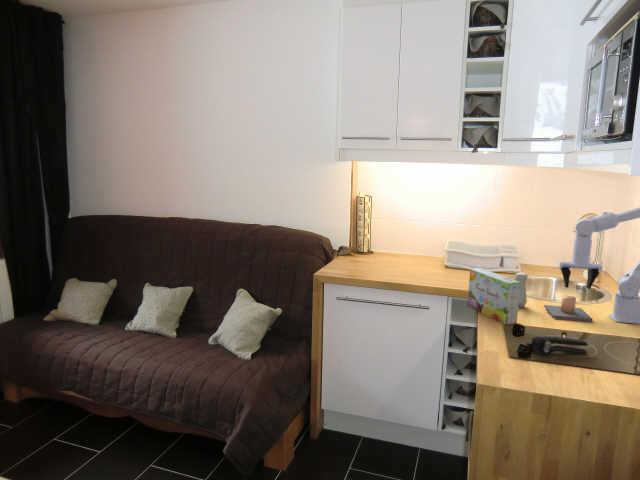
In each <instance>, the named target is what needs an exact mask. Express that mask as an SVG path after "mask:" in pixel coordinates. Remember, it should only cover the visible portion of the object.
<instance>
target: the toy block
mask: <svg viewBox="0 0 640 480" xmlns="http://www.w3.org/2000/svg"><path fill="white" fill-rule="evenodd" d="M576 302H577V297H575V296H573V295H562V296H561V303H560V306H561V312H564V313H568V314H573V313H575V308H576V304H577V303H576Z"/></svg>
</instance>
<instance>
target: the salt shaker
mask: <svg viewBox="0 0 640 480" xmlns="http://www.w3.org/2000/svg"><path fill="white" fill-rule="evenodd" d="M515 279H516V281H518V282H520V293H519V303H518V309H519V308H521V309H522V308H524V307H525V306H526V304H527V302H528V301H527V288H526V281H527V280H528V274H527V273H525V272H516V273H515Z"/></svg>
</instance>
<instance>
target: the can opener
mask: <svg viewBox="0 0 640 480" xmlns="http://www.w3.org/2000/svg"><path fill="white" fill-rule="evenodd" d="M554 344H557V345H554ZM563 345H565V346H563ZM566 345H569V346H566ZM570 345H571V346H570ZM588 345H589V343H588V342H587V341H585V340H579V339H575V338H568V337H561V336H555V335H551V334H550V335H549V336H546V335H545V336H544V335H543V336H541V335H540V336H536V335H535V336H534V337H533V338H532V339H531V341H528V342H526V343H525V346H526V347H527V348H528V347H529V348H530V349H529V348H528V349H529V350H531V351H534V352H536V353H537V354H539V355H543V356H548V355H550V354H552V353H555V352H561V353H567V354H573V355H585V354H587V353H588V351H587V350H586V349H584V348H579V347H572V346H581V347H582V346H583V347H586V346H588Z"/></svg>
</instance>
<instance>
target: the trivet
mask: <svg viewBox="0 0 640 480" xmlns="http://www.w3.org/2000/svg"><path fill="white" fill-rule="evenodd" d="M544 307H545V308H546V310H547V311H548V312H549V313H548V312H547V311H546V310H545V311H546V312H547V313H548V314H550V315H551V316H552V317H551V316H550V315H549V316H550V317H551V319H553V318H557V319H556V320H562V319H566V320H565V321H573V322H574V321H575V322H576V321H577V322H587V323H588V322H589V323H593V317H591V316H590V315H589V314H588V313H587V312H586V311H585V310H584V309H583V308H582V307H575V313H573V314H568V313H564V312H561V305H552V304H551V305H549V304H544V305H543V308H544Z"/></svg>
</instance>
